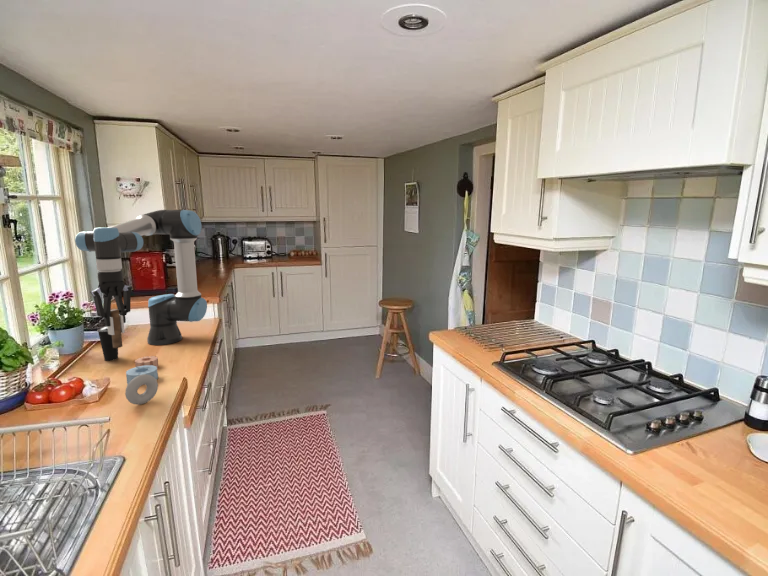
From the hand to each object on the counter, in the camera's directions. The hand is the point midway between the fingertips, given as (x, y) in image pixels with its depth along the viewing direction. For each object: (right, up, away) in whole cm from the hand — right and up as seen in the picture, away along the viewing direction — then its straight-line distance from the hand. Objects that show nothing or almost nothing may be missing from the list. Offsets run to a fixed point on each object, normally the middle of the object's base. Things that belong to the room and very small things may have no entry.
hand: (116, 333), depth 147 cm
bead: (+2, -16, +16) cm, 23 cm away
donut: (+19, -22, -15) cm, 33 cm away
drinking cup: (-20, -14, +26) cm, 35 cm away
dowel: (0, -5, +1) cm, 5 cm away
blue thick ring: (+7, -18, +4) cm, 20 cm away
